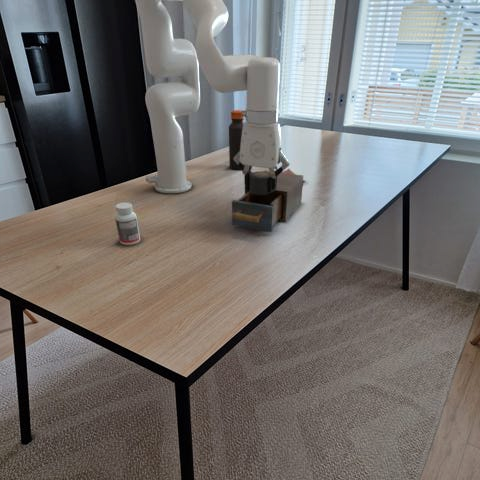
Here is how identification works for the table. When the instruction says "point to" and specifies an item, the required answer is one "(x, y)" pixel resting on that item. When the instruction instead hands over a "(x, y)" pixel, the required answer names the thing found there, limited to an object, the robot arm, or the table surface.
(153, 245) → the table surface
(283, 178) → the cabinet
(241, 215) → the drawer
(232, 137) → the vinegar
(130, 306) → the table surface
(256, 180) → the tape roll
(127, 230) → the pill bottle
